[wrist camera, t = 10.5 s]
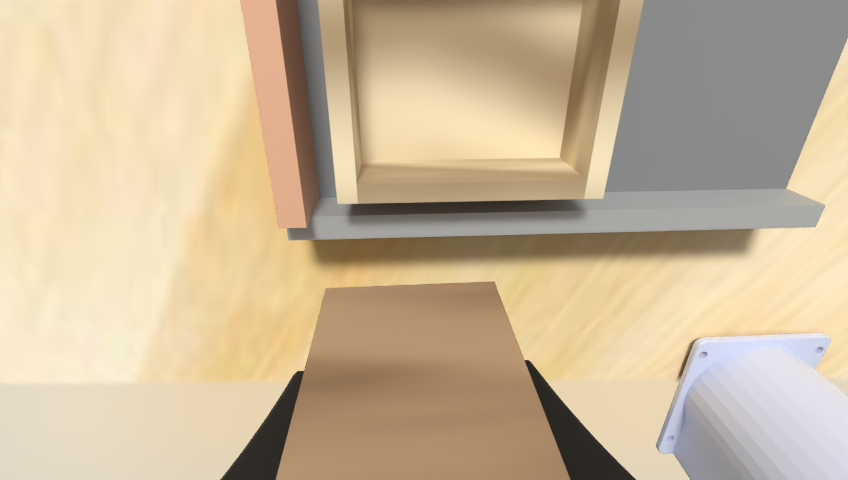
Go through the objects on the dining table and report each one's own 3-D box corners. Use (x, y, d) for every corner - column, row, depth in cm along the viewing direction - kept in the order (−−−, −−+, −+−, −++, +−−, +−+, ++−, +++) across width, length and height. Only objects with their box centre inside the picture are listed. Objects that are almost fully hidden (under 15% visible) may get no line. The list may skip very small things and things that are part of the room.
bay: (761, 200, 21) (837, 237, 17) (303, 210, 20) (282, 252, 16) (904, -170, 15) (1069, -233, 11) (248, -189, 13) (195, -267, 10)
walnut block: (484, 401, 14) (543, 647, 8) (342, 408, 13) (306, 667, 8) (493, 281, 11) (580, 505, 6) (325, 288, 11) (263, 526, 6)
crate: (568, 169, 18) (603, 198, 15) (347, 173, 18) (337, 204, 15) (613, -108, 14) (673, -144, 11) (323, -113, 13) (303, -153, 10)
